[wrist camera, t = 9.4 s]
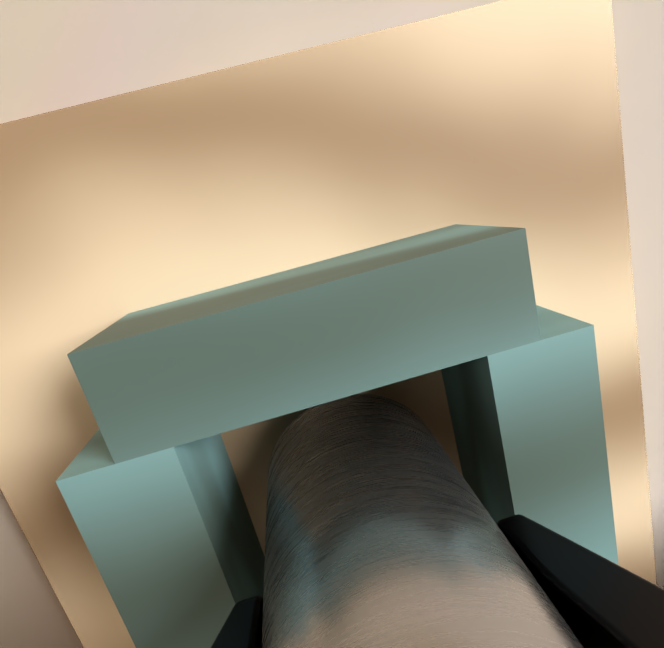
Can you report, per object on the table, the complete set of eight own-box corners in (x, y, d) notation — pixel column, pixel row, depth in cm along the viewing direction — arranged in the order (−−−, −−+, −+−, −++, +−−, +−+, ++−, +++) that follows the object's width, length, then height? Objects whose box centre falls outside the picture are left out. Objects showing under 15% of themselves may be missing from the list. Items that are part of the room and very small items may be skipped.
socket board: (635, 599, 15) (758, 731, 11) (167, 752, 14) (126, 953, 10) (578, -4, 10) (757, -133, 7) (-124, 171, 10) (-397, 140, 6)
